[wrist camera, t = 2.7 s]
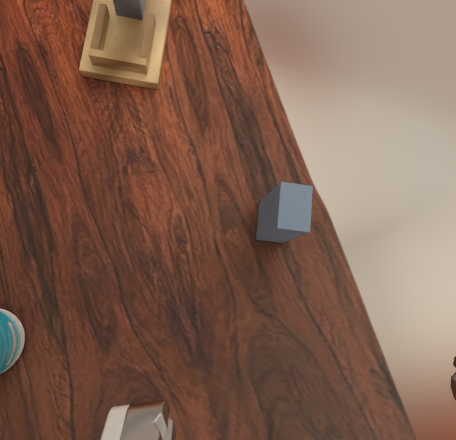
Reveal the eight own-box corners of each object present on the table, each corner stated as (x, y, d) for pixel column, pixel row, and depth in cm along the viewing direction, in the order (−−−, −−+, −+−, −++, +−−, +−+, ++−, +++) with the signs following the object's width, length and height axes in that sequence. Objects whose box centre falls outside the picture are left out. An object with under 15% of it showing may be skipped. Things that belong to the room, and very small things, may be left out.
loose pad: (255, 239, 45) (277, 228, 35) (259, 202, 46) (281, 181, 36) (281, 242, 45) (310, 232, 36) (284, 206, 46) (312, 186, 37)
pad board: (81, 76, 46) (57, 24, 36) (101, -20, 48) (83, -92, 39) (158, 89, 47) (153, 42, 37) (173, -6, 50) (172, -71, 40)
